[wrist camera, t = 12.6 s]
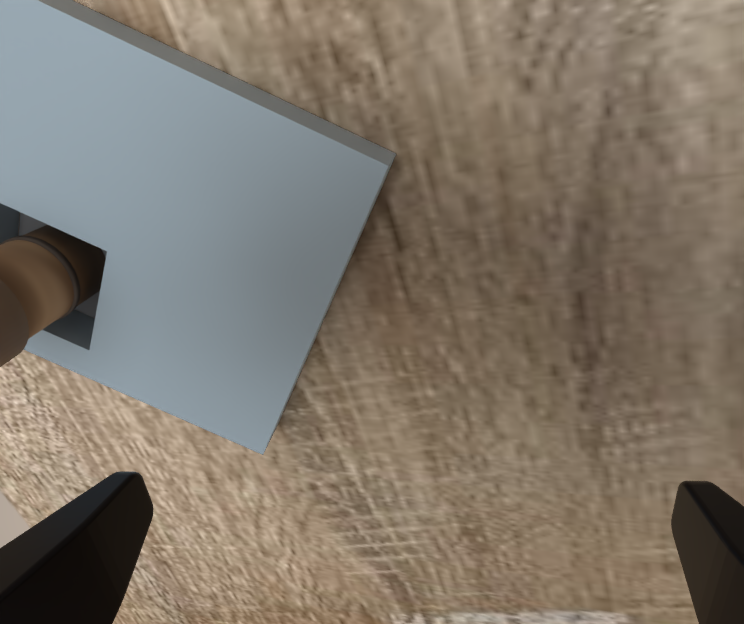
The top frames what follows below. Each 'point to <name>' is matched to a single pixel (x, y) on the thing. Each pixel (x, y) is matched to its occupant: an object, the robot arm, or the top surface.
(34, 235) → the leg
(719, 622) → the robot arm
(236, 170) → the seat board
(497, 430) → the top surface
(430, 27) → the top surface
